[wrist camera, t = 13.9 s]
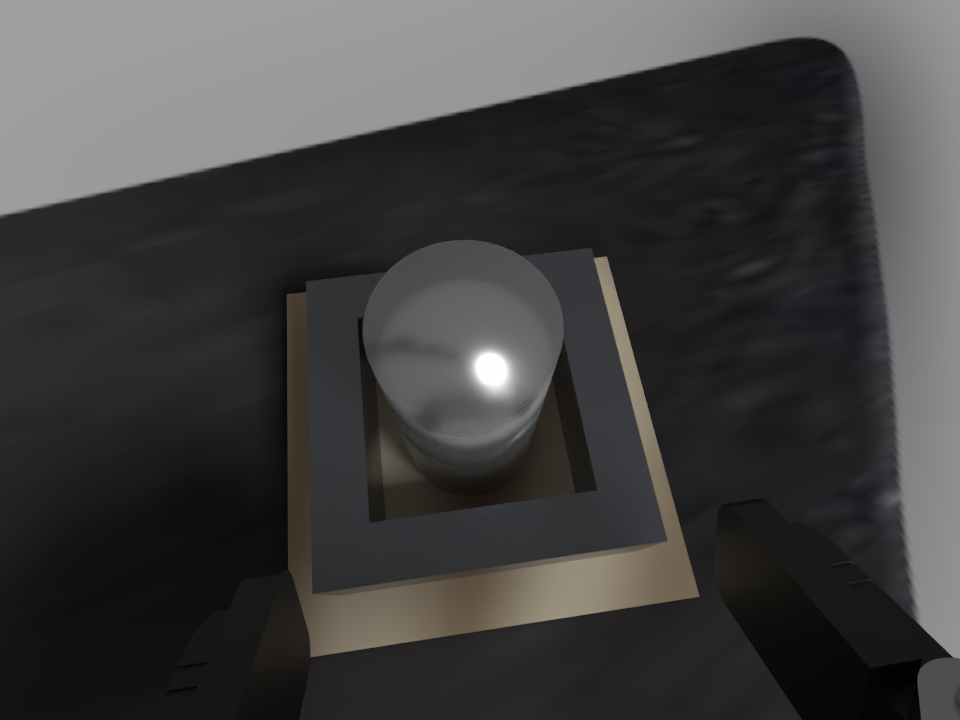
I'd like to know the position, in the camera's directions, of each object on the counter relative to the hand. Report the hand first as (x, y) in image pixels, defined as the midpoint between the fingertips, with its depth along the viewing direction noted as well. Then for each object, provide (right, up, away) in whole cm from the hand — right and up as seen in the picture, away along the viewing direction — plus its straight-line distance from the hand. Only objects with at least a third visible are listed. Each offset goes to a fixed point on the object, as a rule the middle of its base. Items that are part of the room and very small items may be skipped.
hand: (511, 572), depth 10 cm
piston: (-1, +2, +8) cm, 8 cm away
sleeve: (-1, +2, +8) cm, 8 cm away
